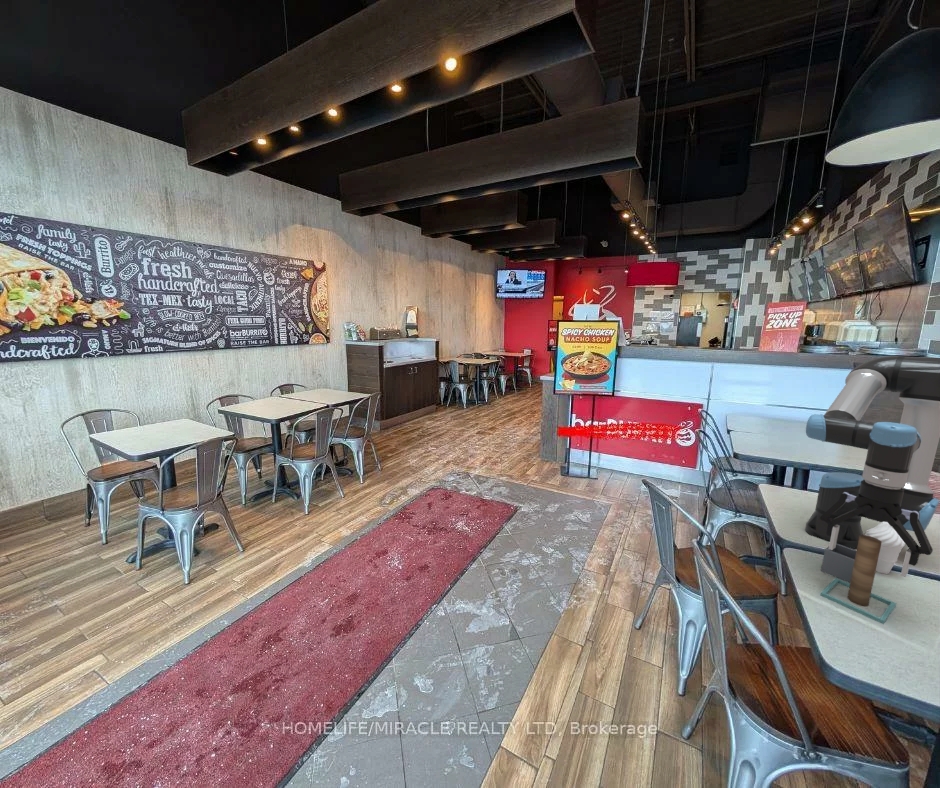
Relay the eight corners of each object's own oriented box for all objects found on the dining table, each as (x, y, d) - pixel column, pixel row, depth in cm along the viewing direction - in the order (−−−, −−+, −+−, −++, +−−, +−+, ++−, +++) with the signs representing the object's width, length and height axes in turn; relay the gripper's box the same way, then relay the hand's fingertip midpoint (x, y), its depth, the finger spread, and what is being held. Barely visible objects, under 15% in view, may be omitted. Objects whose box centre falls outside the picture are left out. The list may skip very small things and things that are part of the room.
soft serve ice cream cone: (906, 582, 112) (918, 531, 109) (872, 578, 113) (883, 528, 111) (882, 565, 120) (892, 517, 117) (850, 561, 122) (860, 514, 119)
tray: (834, 583, 111) (835, 577, 110) (895, 609, 101) (896, 603, 100) (819, 598, 104) (820, 592, 104) (882, 627, 94) (884, 621, 94)
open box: (828, 566, 119) (833, 542, 118) (862, 579, 113) (868, 554, 111) (820, 573, 115) (824, 549, 114) (854, 588, 109) (860, 562, 107)
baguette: (849, 594, 105) (861, 533, 102) (870, 603, 102) (883, 540, 99) (845, 599, 103) (857, 537, 100) (865, 608, 100) (879, 545, 97)
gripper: (813, 470, 105) (801, 542, 109) (958, 506, 84) (936, 593, 88) (823, 465, 109) (810, 534, 113) (964, 499, 88) (942, 582, 92)
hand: (866, 560), depth 100 cm, fingers open, 13 cm apart
